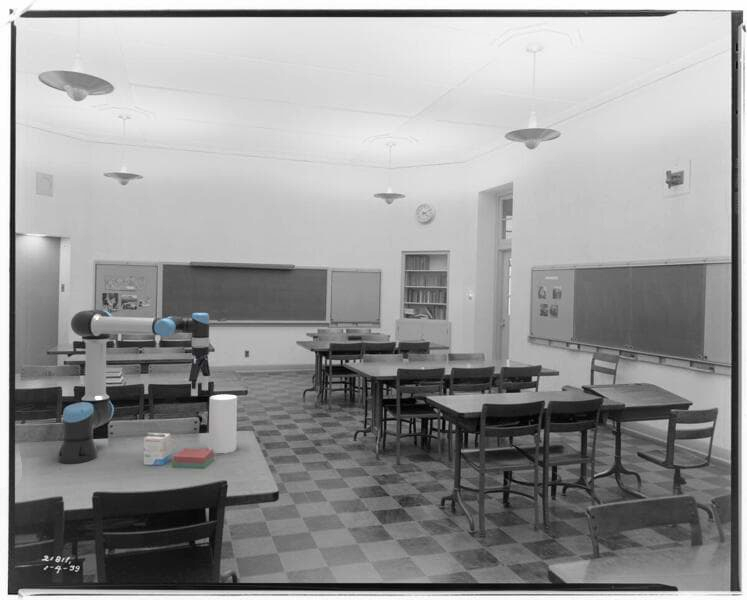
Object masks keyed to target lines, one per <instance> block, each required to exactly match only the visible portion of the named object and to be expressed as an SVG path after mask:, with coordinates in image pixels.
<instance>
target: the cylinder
mask: <svg viewBox="0 0 747 600" xmlns="http://www.w3.org/2000/svg"><path fill="white" fill-rule="evenodd" d="M208 406H209V409H208V411H209V417H208V449H210V450H213V454H216V453H217V454H218V453H224V454H229V452H230V453H233V452H235V451H236V450H237V426H238V425H237V422H238V418H237V417H238V416H237V415H238V396H237V395H235V394H224V393H223V394H216V395H211V396H210V397H209V405H208Z"/></svg>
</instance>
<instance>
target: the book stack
mask: <svg viewBox="0 0 747 600" xmlns="http://www.w3.org/2000/svg"><path fill="white" fill-rule="evenodd" d="M213 461H215V454H214V453H213V450H210V449H209V448H208V449H207V448H206V449H204V448H183V449H182V450H181V451H179V452H178V453H177V454H174V456H173V461H172V462H171V468H175V467H177V468H178V469H181V468H182V469H201V470H202V469H203V470H205V469H206V468H207V467H209V465H210V464H211V463H212V462H213Z"/></svg>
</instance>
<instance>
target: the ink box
mask: <svg viewBox="0 0 747 600" xmlns="http://www.w3.org/2000/svg"><path fill="white" fill-rule="evenodd" d="M146 433H147V436H145V437H143V465H147V466H148V465H149V466H164V465H165V464H166V463H168V462H170V460H172V459H171V458H172V455H171V453H172V450H171V448H172V447H171V445H172V444H171V442H172V441H171V440H172V439H171V438H172V437H171V433H164V432H146Z"/></svg>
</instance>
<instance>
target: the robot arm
mask: <svg viewBox="0 0 747 600" xmlns="http://www.w3.org/2000/svg"><path fill="white" fill-rule="evenodd" d="M191 315H192V316H167V317H137V316H136V317H135V316H133V317H132V316H131V317H130V316H113V315H112V314H111V313H110V312H109V311H107V310H104V309H91V310H89V309H88V310H81V311H79V312H76V313H75V314H74V315H73V317H72V318H71V320H70V328H71V329H72V331H73V333H74V334H75V335H76V336H80V337H81V340H82V341H83V342H84V343H85V373H84V374H85V375H84V376H85V377H84V378H85V383H84V385H85V389H84V390H85V391H84V392H85V393H84V395H83V396H82V397H81V402H76V403H72V404H69V405H67V406H65V408H64V409H63V414H62V444H61V446H60V447H61V448H60V449H59V452H58V457H57V460H58V462H59V461H60V462H59V463H61V462H62V464H80V463H85V462H89V461H92V460H94V459H96V458H97V457H98V450H97V447H96V444H95V441H94V429H96V428H98V427H101V426H104V425H105V424H107V423H109V422H110V420H111V419H112V417H113V415H114V412H115V408H114V405H113V404H112V402H111V400H110V396H109V395H108V394H107V343H108V342H109V341H110V339H111V335H133V336H134V335H138V336H141V335H143V336H149V335H150V336H160V337H170V336H173V335H177V334H191V356H193V357H194V356H195V358H192V360H191V368H190V374H189V378H188V382H190V385H191V386H190V396H191V397H197V396H198V395H199V390H198V387H199V385H198V384H199V381H198V377H199V375H200V372H201V375H202V376H201V391H209V377H210V376H211V370H210V364H209V354H210V347H209V345H210V342H211V340H210V324H211V323H210V315H209V314H208V313H207V312H194V313H192V314H191Z"/></svg>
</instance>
